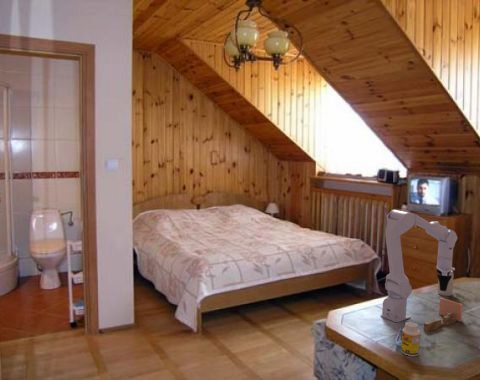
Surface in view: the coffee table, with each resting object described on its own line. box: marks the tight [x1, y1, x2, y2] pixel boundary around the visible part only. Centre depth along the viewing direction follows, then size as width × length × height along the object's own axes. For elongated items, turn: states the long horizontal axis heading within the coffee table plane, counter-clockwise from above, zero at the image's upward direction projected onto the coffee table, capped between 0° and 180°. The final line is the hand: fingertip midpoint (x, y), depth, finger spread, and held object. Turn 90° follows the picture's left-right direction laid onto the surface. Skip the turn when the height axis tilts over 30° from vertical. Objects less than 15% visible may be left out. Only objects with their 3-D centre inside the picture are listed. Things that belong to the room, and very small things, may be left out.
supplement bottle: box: [400, 321, 421, 357], centre depth 148 cm, size 6×6×10 cm
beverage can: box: [437, 270, 454, 297], centre depth 210 cm, size 6×6×12 cm
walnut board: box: [423, 313, 457, 333], centre depth 172 cm, size 20×1×3 cm, turn 124°
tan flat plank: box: [438, 297, 464, 322], centre depth 181 cm, size 9×1×7 cm, turn 34°
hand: (442, 288), depth 188 cm, fingers open, 7 cm apart
